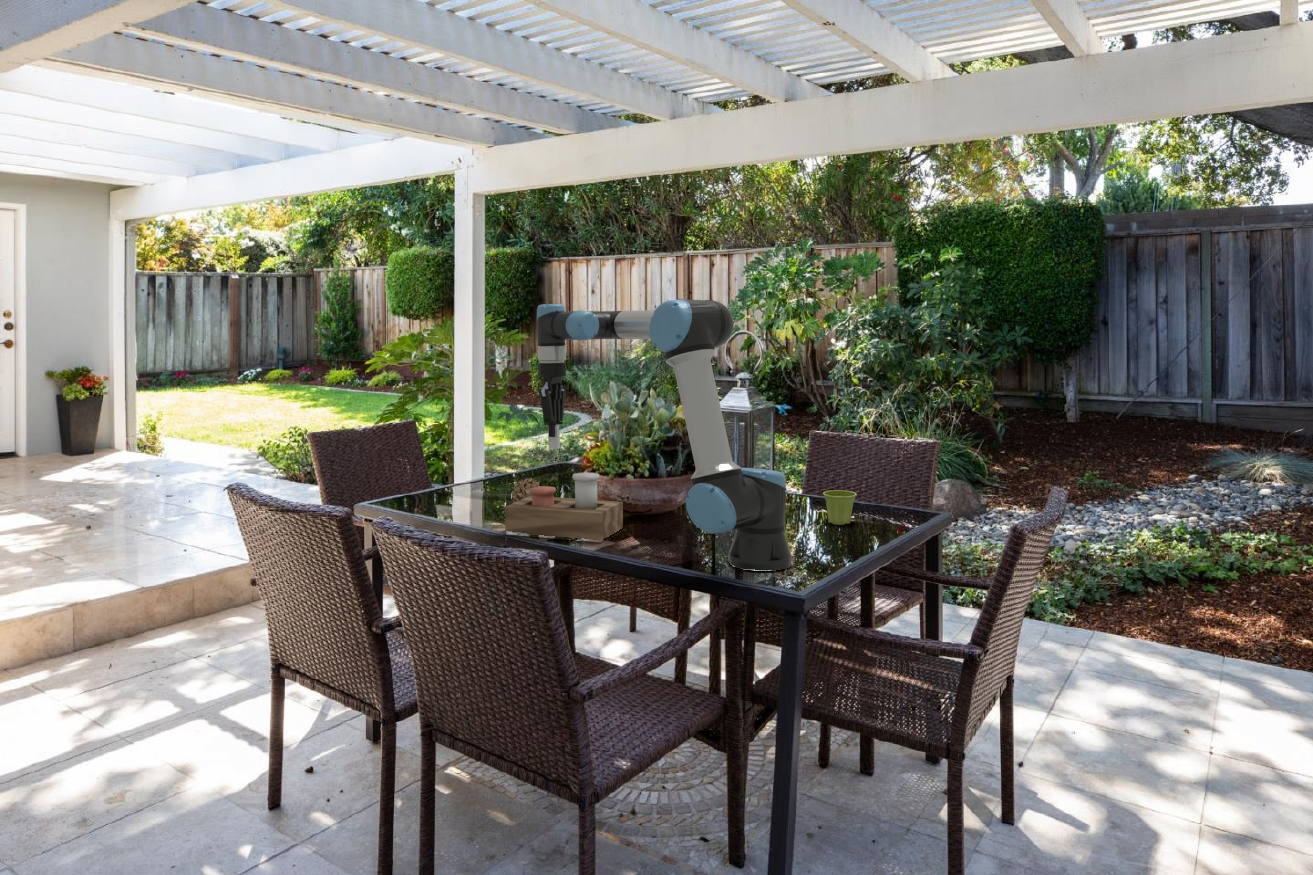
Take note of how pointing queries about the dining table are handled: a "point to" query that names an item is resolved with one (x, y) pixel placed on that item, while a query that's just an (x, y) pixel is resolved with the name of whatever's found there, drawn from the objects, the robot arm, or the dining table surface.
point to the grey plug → (586, 490)
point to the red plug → (543, 495)
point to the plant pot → (839, 506)
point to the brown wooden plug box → (565, 519)
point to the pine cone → (523, 489)
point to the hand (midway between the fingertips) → (554, 448)
